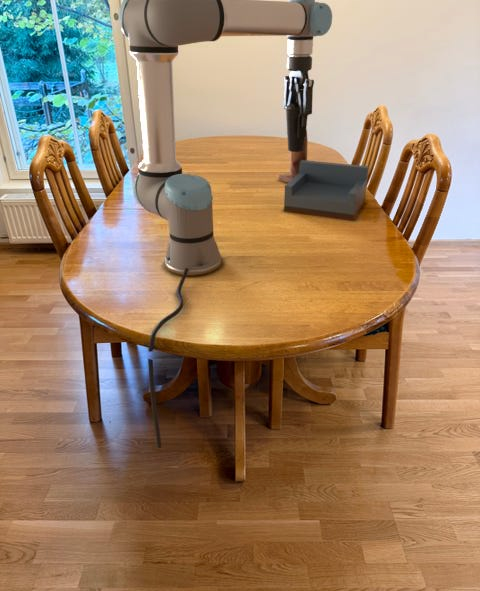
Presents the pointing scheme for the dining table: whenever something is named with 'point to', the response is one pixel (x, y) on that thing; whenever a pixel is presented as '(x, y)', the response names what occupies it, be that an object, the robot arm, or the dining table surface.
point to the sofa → (327, 190)
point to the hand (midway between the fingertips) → (296, 134)
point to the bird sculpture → (295, 163)
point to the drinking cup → (293, 127)
